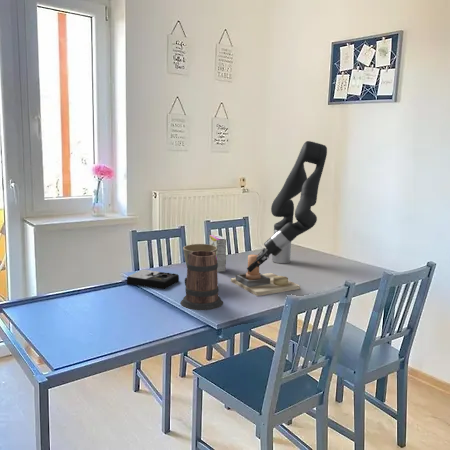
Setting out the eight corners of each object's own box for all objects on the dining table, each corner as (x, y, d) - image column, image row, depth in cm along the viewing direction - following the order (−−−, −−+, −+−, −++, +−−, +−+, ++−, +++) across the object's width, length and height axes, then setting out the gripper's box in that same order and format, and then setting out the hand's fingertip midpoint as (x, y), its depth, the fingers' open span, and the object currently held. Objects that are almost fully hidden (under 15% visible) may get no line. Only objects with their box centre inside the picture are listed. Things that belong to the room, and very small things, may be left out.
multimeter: (164, 290, 198) (164, 279, 197) (126, 284, 205) (126, 273, 204) (179, 282, 210) (179, 271, 209) (142, 276, 217) (142, 266, 216)
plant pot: (179, 279, 213) (179, 245, 210) (210, 276, 218) (210, 243, 215) (188, 288, 199) (188, 252, 196) (221, 285, 204) (221, 250, 202)
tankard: (231, 306, 179) (232, 255, 175) (190, 313, 171) (190, 260, 168) (205, 289, 199) (205, 243, 196) (168, 294, 192) (167, 246, 188)
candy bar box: (208, 266, 235) (208, 234, 232) (217, 265, 237) (218, 234, 234) (216, 272, 225) (216, 239, 222) (226, 271, 226) (226, 238, 223)
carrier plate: (230, 281, 211) (230, 273, 210) (271, 275, 221) (271, 267, 220) (256, 296, 192) (257, 286, 191) (299, 288, 202) (300, 279, 201)
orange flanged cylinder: (243, 277, 206) (243, 255, 204) (255, 275, 209) (256, 253, 207) (250, 280, 201) (251, 258, 199) (263, 278, 204) (263, 256, 202)
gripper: (271, 233, 208) (244, 258, 211) (271, 239, 194) (241, 266, 197) (283, 245, 208) (255, 270, 212) (283, 252, 194) (253, 279, 198)
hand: (249, 268), depth 204 cm, fingers closed on orange flanged cylinder, 5 cm apart
